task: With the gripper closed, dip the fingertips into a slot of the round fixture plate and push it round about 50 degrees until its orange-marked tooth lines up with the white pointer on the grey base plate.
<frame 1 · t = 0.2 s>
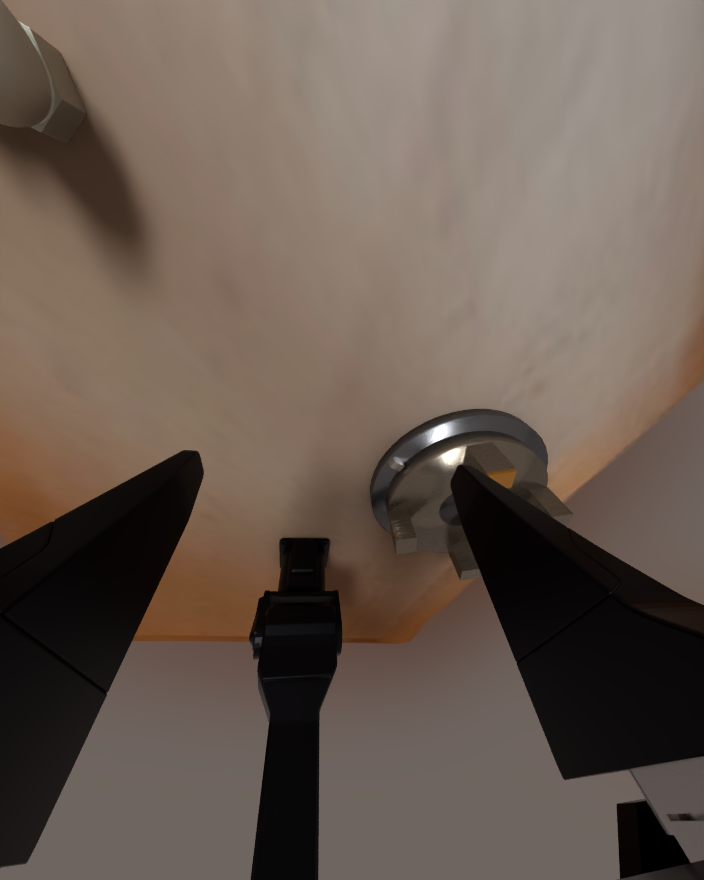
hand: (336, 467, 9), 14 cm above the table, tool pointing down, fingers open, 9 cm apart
base plate: (453, 483, 31), on the table
round fixture plate: (470, 513, 27), point 4 cm above the table, hinge at 0.0°
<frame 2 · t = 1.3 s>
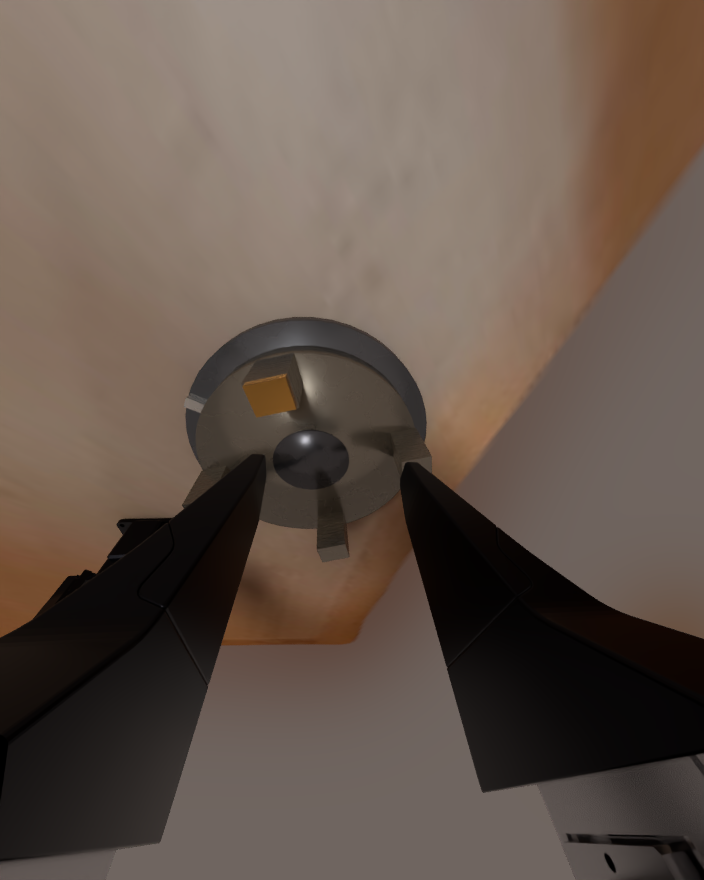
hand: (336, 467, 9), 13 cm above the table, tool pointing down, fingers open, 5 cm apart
base plate: (313, 436, 24), on the table
round fixture plate: (311, 468, 20), point 5 cm above the table, hinge at 0.0°
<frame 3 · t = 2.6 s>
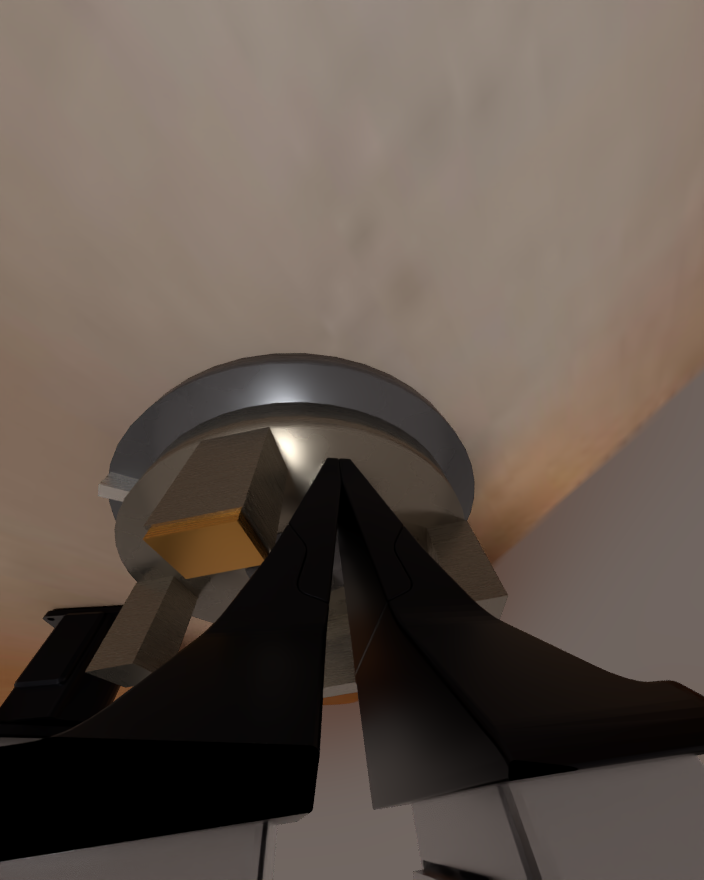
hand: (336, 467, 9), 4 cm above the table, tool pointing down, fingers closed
base plate: (308, 511, 17), on the table
round fixture plate: (304, 582, 13), point 5 cm above the table, hinge at 0.0°, touching gripper
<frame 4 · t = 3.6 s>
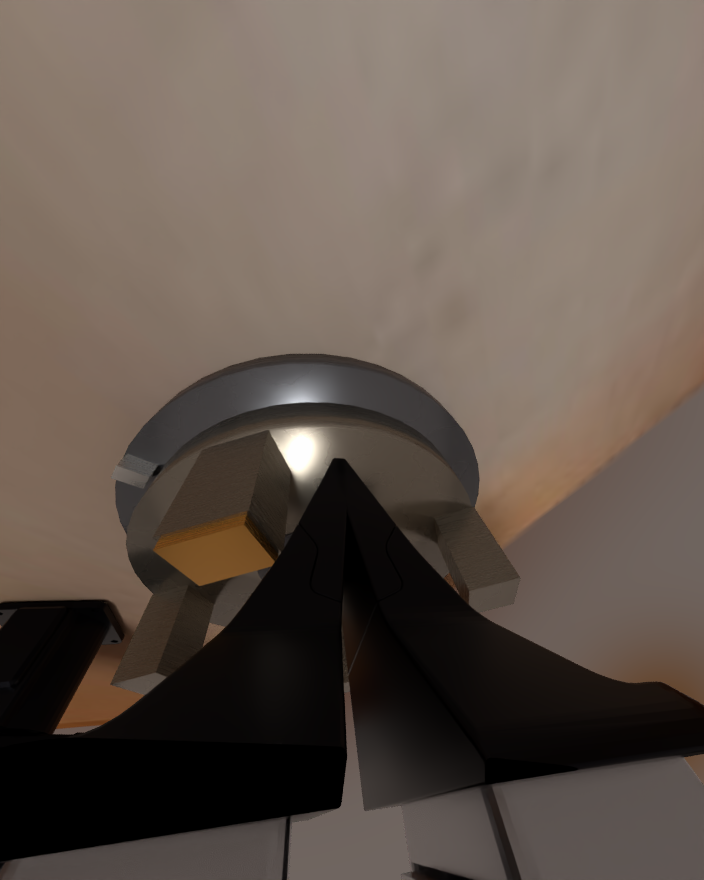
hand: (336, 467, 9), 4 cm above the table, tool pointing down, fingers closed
base plate: (315, 510, 17), on the table
round fixture plate: (317, 580, 13), point 5 cm above the table, hinge at 13.0°, touching gripper
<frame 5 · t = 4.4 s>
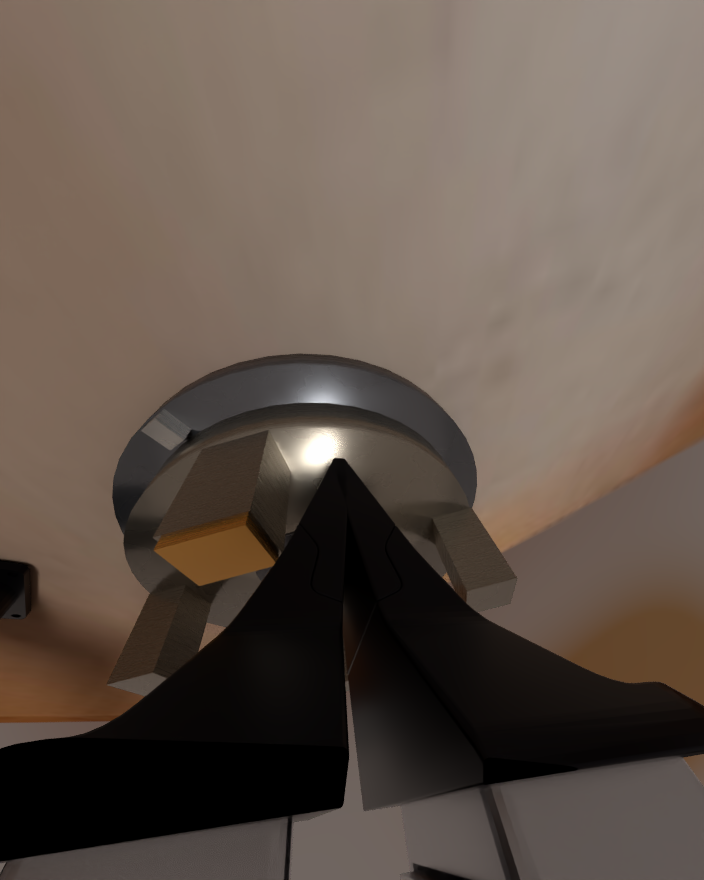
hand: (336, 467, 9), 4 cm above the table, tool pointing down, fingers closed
base plate: (313, 510, 17), on the table
round fixture plate: (315, 580, 13), point 5 cm above the table, hinge at 30.3°, touching gripper
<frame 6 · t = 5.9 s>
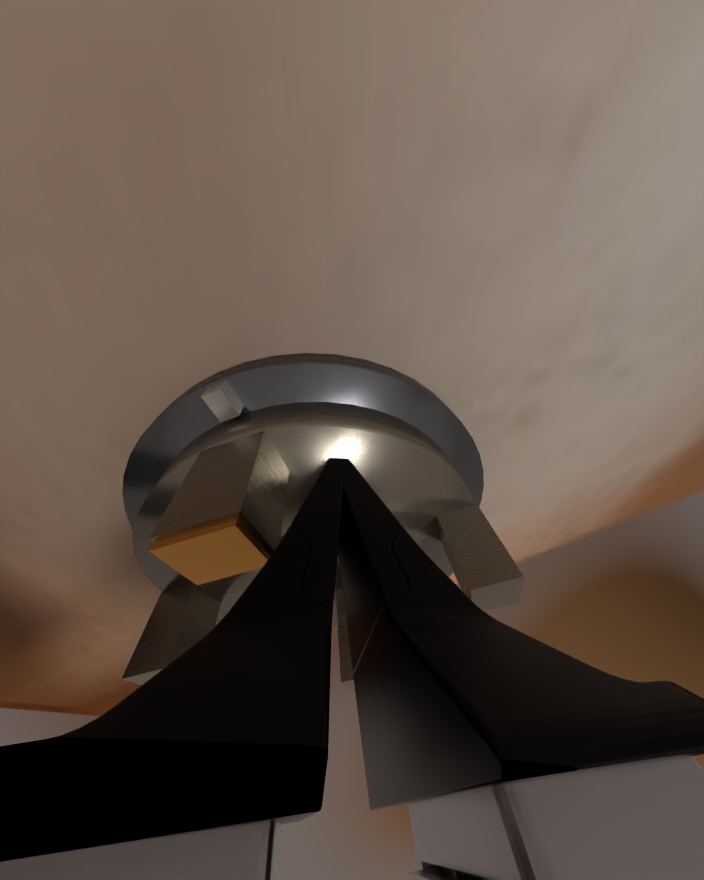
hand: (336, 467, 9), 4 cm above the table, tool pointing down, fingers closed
base plate: (319, 509, 17), on the table
round fixture plate: (319, 579, 13), point 5 cm above the table, hinge at 47.5°, touching gripper
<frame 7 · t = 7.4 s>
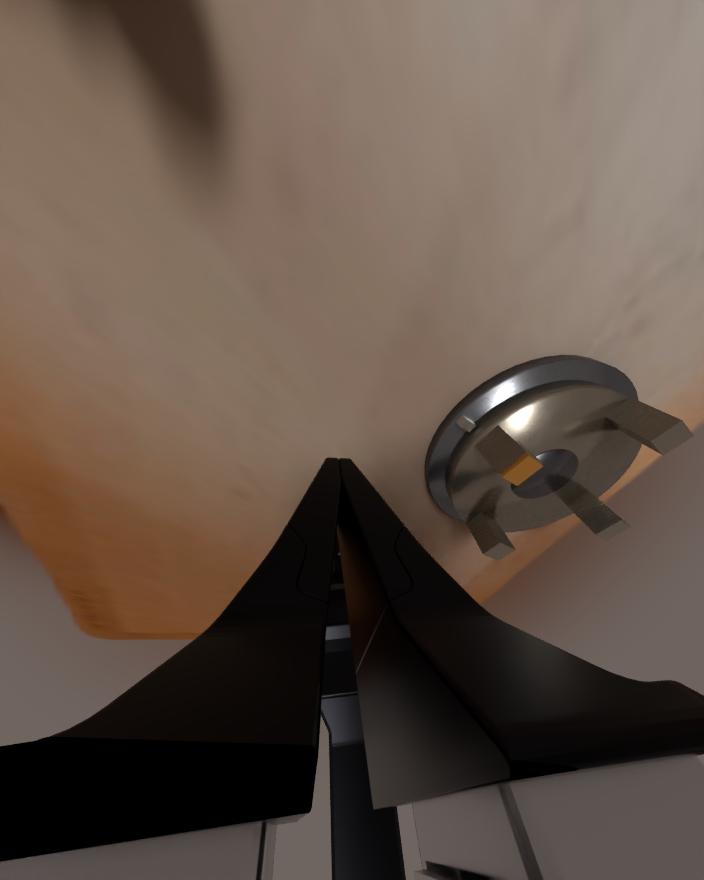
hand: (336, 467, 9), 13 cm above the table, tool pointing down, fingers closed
base plate: (519, 451, 27), on the table
round fixture plate: (550, 481, 23), point 5 cm above the table, hinge at 47.5°
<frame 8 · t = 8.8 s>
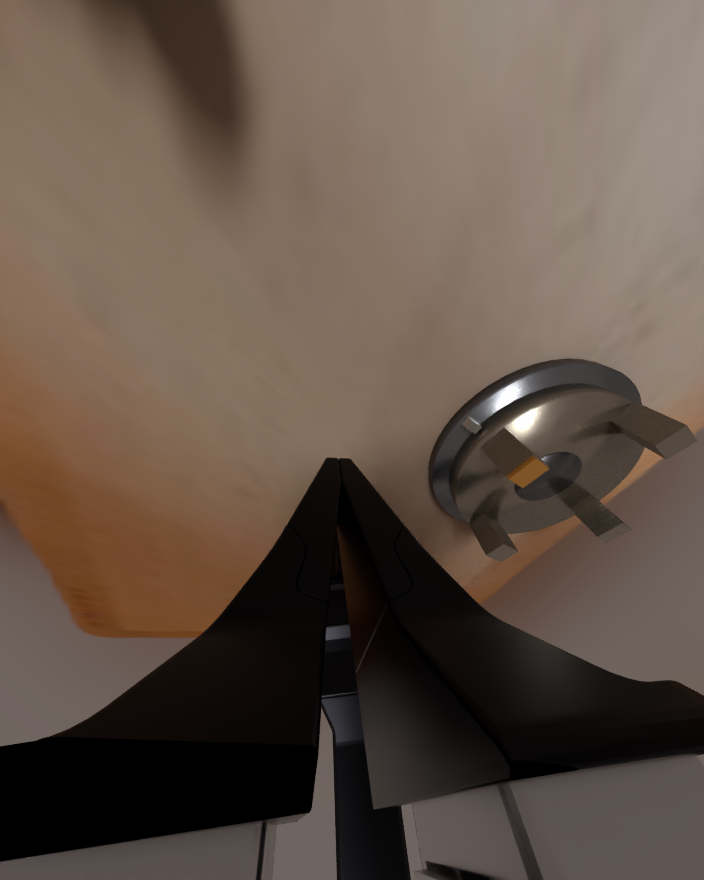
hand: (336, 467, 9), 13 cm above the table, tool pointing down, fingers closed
base plate: (522, 453, 27), on the table
round fixture plate: (553, 484, 24), point 5 cm above the table, hinge at 47.5°
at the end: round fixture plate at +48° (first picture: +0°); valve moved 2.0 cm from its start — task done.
